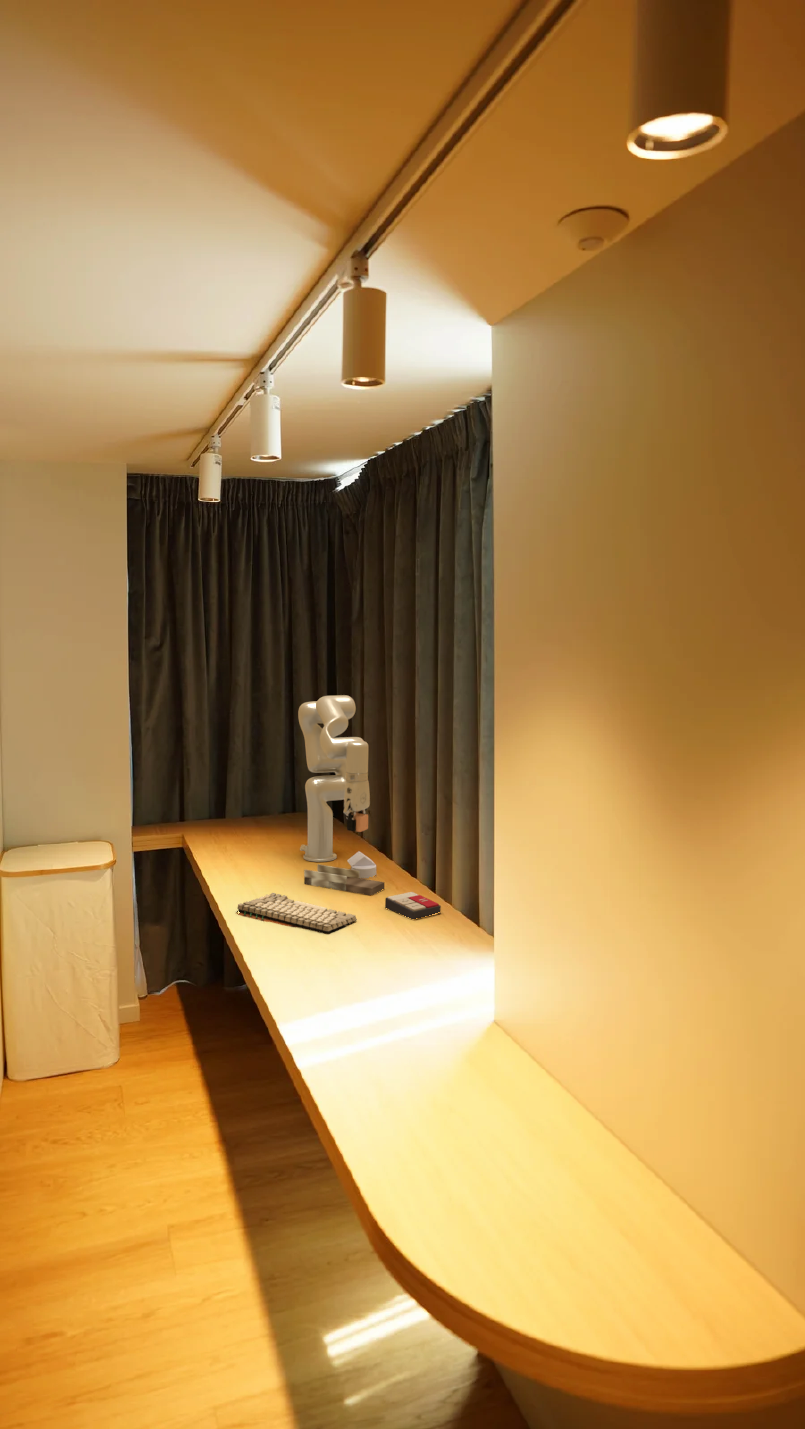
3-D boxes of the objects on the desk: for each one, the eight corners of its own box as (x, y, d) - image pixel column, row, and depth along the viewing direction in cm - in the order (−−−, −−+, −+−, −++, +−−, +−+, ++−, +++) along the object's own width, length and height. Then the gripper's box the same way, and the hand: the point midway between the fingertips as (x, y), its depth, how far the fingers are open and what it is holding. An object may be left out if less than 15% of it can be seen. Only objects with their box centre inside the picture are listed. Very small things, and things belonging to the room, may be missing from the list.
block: (347, 829, 331) (348, 815, 330) (355, 826, 335) (355, 812, 335) (360, 831, 328) (360, 817, 328) (367, 828, 333) (368, 814, 332)
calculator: (413, 909, 295) (384, 895, 307) (413, 923, 296) (384, 908, 307) (441, 903, 302) (412, 889, 313) (440, 916, 302) (411, 902, 314)
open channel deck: (304, 883, 333) (304, 869, 333) (318, 878, 341) (318, 864, 340) (371, 895, 320) (371, 880, 320) (384, 889, 328) (384, 875, 327)
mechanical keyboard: (364, 921, 296) (364, 910, 296) (326, 938, 280) (326, 927, 280) (270, 900, 316) (269, 890, 316) (229, 915, 300) (229, 905, 300)
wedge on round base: (346, 869, 353) (354, 879, 340) (346, 851, 352) (354, 860, 340) (370, 868, 355) (378, 877, 343) (371, 850, 355) (379, 859, 342)
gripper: (353, 782, 321) (352, 835, 323) (378, 774, 335) (377, 825, 338) (334, 779, 324) (333, 832, 327) (360, 771, 339) (359, 822, 341)
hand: (355, 828), depth 332 cm, fingers closed on block, 5 cm apart
